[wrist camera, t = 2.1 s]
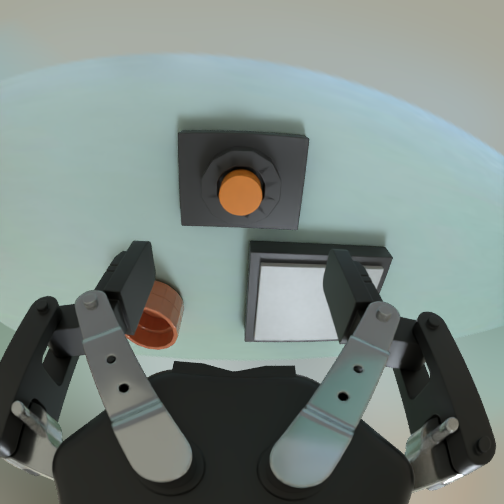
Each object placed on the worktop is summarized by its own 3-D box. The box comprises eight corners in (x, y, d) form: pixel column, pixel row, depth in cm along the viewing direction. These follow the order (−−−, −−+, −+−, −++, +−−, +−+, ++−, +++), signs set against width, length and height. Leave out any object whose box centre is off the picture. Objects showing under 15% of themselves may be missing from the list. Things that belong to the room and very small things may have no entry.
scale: (244, 329, 33) (244, 345, 30) (249, 240, 26) (250, 255, 24) (355, 327, 33) (361, 343, 31) (385, 246, 27) (395, 260, 25)
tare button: (220, 205, 22) (218, 215, 20) (221, 168, 20) (219, 174, 18) (259, 207, 22) (260, 216, 20) (262, 169, 20) (263, 176, 19)
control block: (184, 218, 25) (177, 234, 22) (181, 130, 21) (172, 136, 18) (295, 223, 25) (300, 239, 23) (306, 135, 21) (314, 142, 19)
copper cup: (136, 317, 32) (126, 345, 28) (125, 275, 28) (110, 303, 24) (186, 321, 32) (180, 352, 28) (181, 278, 29) (172, 309, 25)
